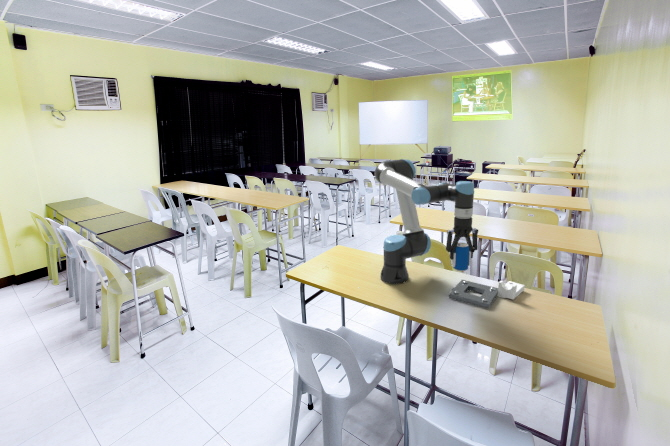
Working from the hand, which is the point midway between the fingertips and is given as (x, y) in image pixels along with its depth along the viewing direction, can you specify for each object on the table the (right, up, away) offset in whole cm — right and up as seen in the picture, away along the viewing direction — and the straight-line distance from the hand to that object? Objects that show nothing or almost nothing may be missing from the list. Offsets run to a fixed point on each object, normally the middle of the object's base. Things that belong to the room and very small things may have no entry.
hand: (460, 265), depth 157 cm
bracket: (+27, -15, +8) cm, 32 cm away
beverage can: (0, -2, 0) cm, 2 cm away
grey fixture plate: (+9, -16, +7) cm, 20 cm away
